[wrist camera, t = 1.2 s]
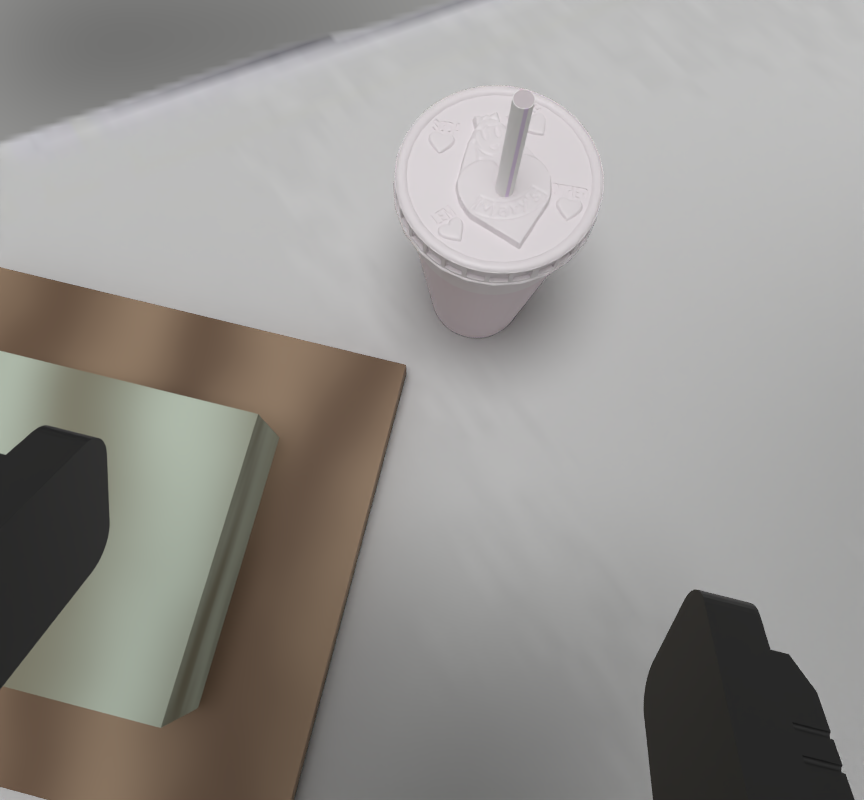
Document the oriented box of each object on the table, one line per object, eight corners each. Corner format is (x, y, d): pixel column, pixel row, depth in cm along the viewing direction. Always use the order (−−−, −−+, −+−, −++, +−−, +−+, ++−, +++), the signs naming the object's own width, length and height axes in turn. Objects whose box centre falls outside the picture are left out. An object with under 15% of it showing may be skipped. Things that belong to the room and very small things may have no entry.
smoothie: (416, 383, 31) (416, 221, 17) (386, 241, 32) (363, -8, 19) (568, 352, 31) (682, 171, 18) (530, 214, 33) (610, -49, 19)
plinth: (406, 373, 31) (404, 331, 26) (280, 849, 27) (248, 909, 22) (-10, 273, 32) (-90, 213, 27) (-198, 720, 27) (-336, 749, 22)
